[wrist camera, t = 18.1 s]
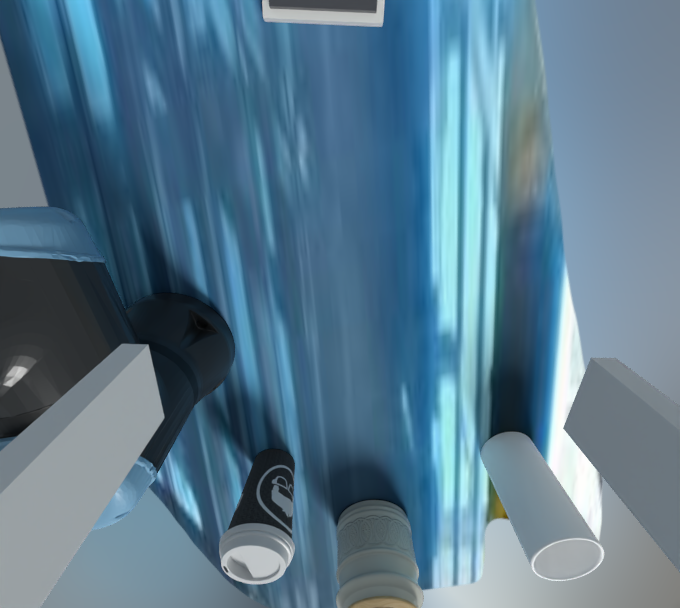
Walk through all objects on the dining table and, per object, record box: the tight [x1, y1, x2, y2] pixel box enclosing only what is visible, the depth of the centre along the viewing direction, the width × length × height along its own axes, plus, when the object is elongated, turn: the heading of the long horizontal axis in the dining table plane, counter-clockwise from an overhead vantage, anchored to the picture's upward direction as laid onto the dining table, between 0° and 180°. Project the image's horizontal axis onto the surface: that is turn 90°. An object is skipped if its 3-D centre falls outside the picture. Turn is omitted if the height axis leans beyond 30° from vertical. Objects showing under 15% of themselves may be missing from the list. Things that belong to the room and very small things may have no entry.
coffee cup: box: [219, 449, 295, 584], centre depth 49 cm, size 10×10×15 cm
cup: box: [481, 432, 604, 581], centre depth 47 cm, size 8×8×16 cm
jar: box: [336, 500, 424, 608], centre depth 54 cm, size 13×13×18 cm
